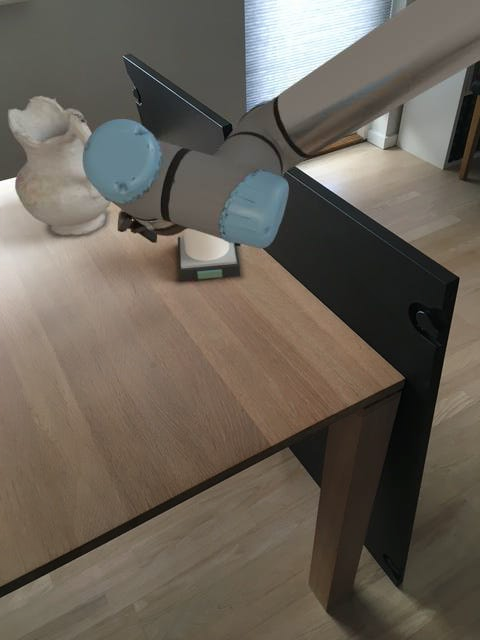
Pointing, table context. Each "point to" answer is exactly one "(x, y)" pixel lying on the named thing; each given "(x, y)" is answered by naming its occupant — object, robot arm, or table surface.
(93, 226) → the ceramic pitcher
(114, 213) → the table surface
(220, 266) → the scale
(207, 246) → the cup
